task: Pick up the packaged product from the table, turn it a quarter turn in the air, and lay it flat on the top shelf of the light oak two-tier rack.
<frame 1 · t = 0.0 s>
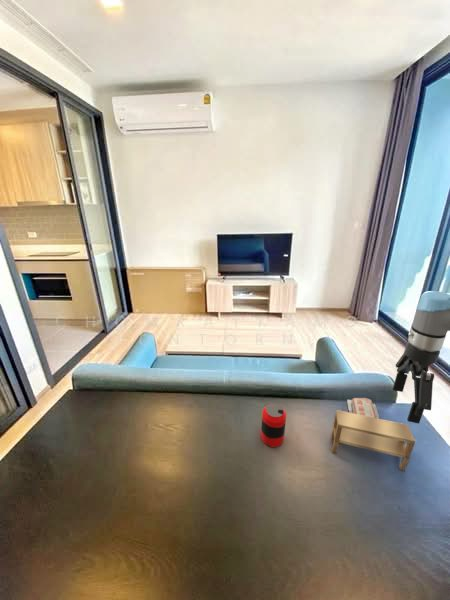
hand: (404, 404, 78), 15 cm above the table, tool pointing down, fingers open, 13 cm apart
soda can: (272, 438, 84), on the table
packaged product: (364, 422, 91), on the table
rack: (365, 453, 79), on the table
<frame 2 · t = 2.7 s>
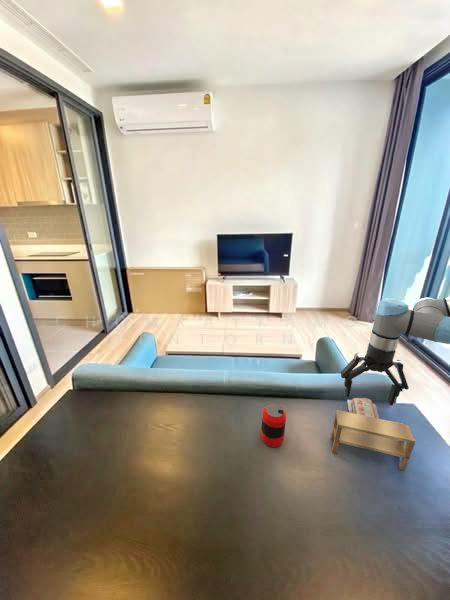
hand: (368, 398, 88), 10 cm above the table, tool pointing down, fingers open, 13 cm apart
nothing on the table moved.
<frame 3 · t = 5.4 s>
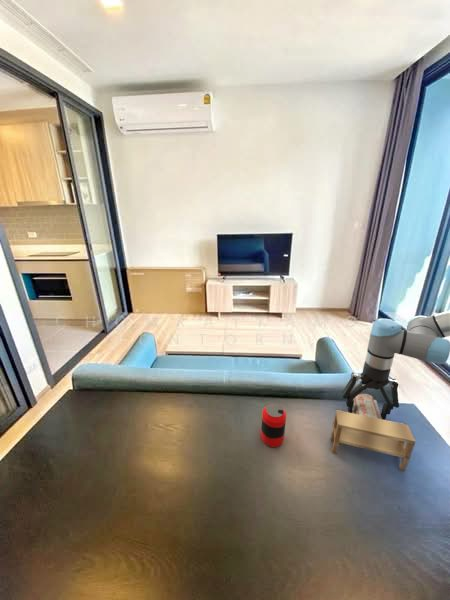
hand: (365, 416, 90), 2 cm above the table, tool pointing down, fingers closed on packaged product, 10 cm apart
packaged product: (365, 418, 90), point 2 cm above the table, touching gripper
everything else where it was.
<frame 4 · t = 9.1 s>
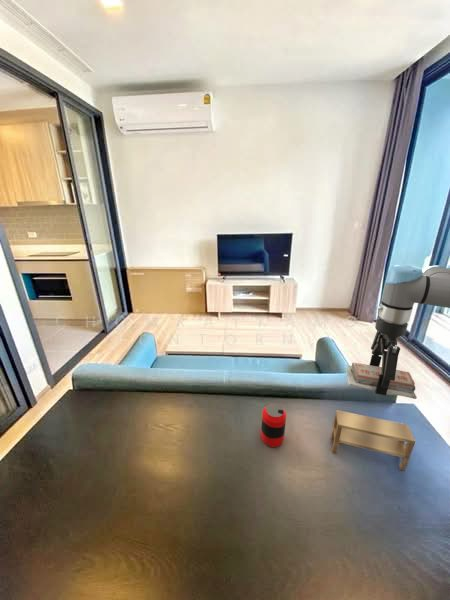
hand: (376, 382, 80), 21 cm above the table, tool pointing down, fingers closed on packaged product, 10 cm apart
packaged product: (377, 383, 80), point 20 cm above the table, touching gripper
everything else where it was.
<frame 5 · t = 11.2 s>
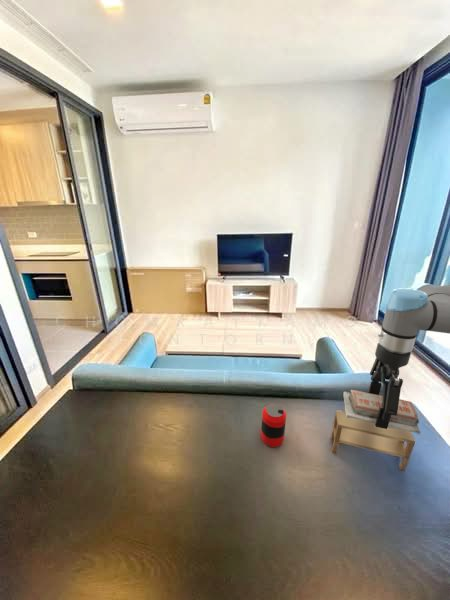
hand: (376, 412, 73), 17 cm above the table, tool pointing down, fingers closed on packaged product, 10 cm apart
packaged product: (377, 413, 73), point 16 cm above the table, touching gripper
everything else where it was.
when the fingers open (12 cm above the table, at t = 12.9 s): packaged product stays where it is, resting on rack.
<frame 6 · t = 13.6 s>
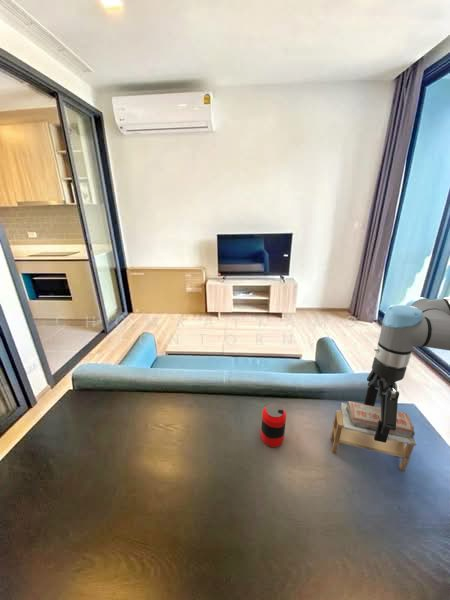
hand: (373, 421, 74), 13 cm above the table, tool pointing down, fingers open, 13 cm apart
packaged product: (374, 425, 75), point 12 cm above the table, touching rack
everything else where it was.
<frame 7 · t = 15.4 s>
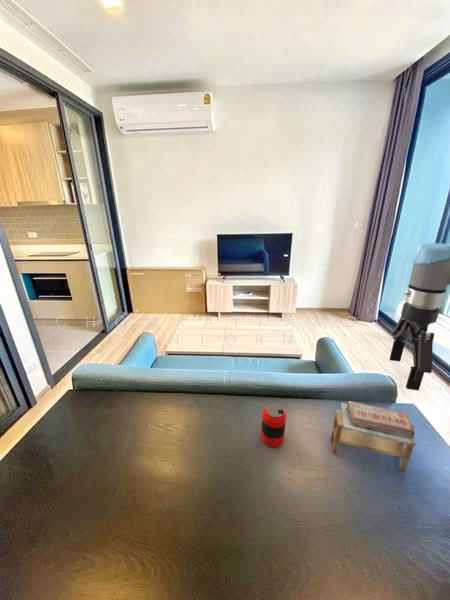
hand: (402, 373, 72), 28 cm above the table, tool pointing down, fingers open, 13 cm apart
nothing on the table moved.
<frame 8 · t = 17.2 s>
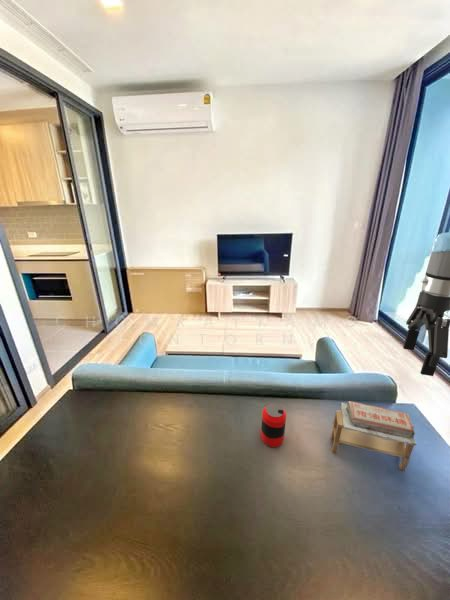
hand: (416, 360, 74), 31 cm above the table, tool pointing down, fingers open, 13 cm apart
nothing on the table moved.
at the end: packaged product inside the target area on the rack (0.4 cm from its centre), point 11.8 cm above the rack's base; packaged product touching rack; the gripper is holding nothing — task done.
